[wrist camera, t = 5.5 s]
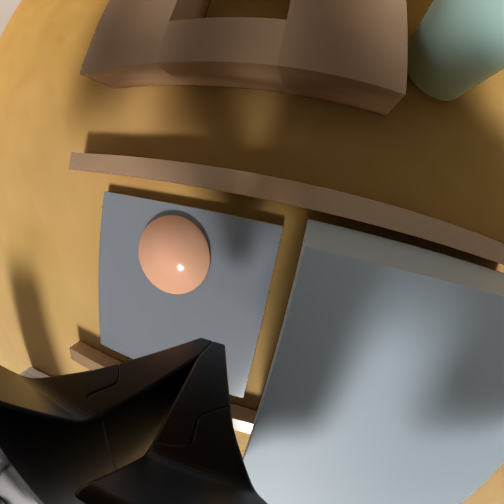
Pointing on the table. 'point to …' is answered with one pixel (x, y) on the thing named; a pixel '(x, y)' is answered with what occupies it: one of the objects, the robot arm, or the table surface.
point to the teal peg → (456, 47)
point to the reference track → (212, 261)
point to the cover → (381, 377)
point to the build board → (258, 49)
